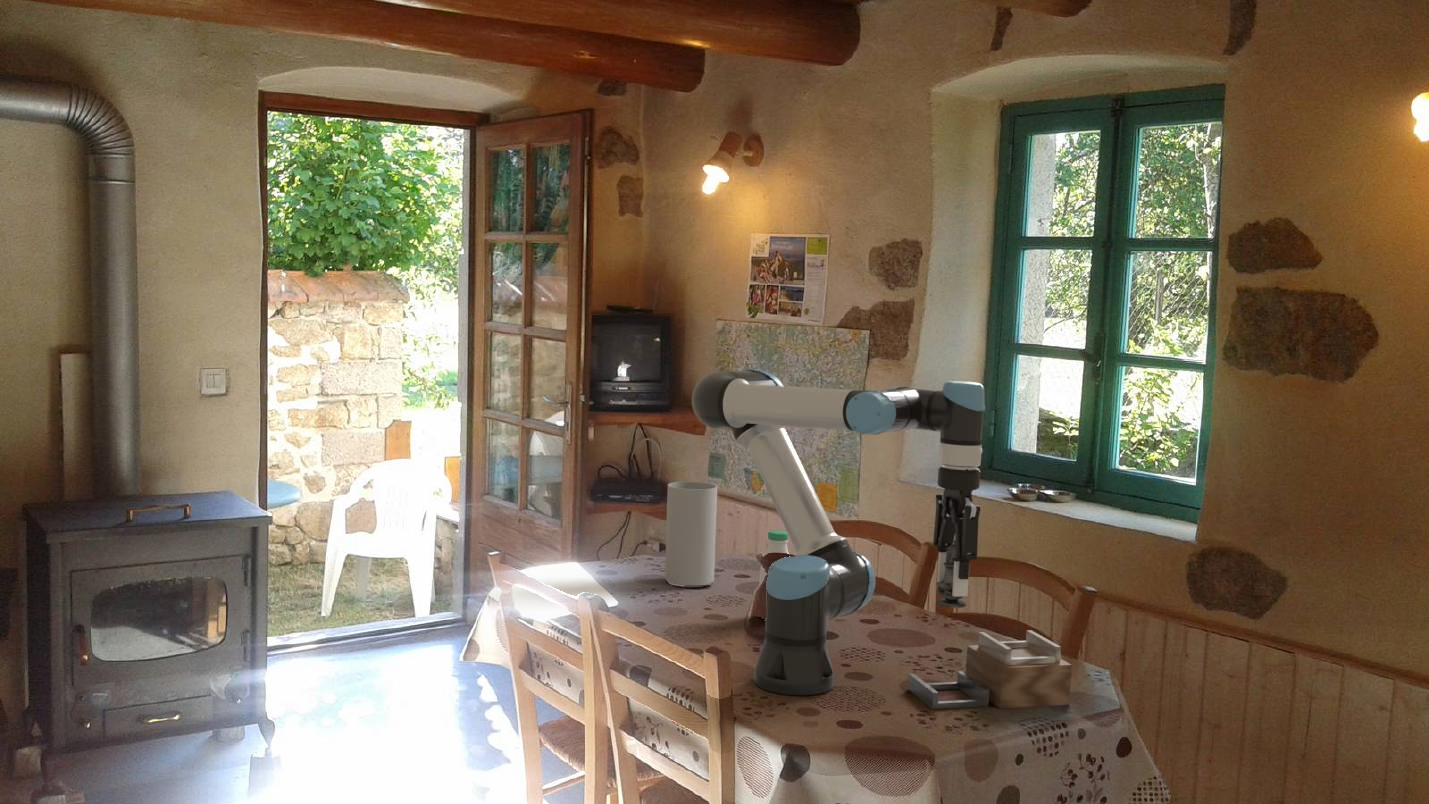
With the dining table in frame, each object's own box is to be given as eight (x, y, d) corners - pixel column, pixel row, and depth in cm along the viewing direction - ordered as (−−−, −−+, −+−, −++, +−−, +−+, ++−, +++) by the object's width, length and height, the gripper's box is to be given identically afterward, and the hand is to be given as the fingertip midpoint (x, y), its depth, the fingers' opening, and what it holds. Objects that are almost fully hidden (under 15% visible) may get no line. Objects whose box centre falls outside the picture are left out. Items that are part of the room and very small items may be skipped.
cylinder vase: (723, 582, 305) (726, 485, 303) (696, 591, 294) (700, 491, 292) (682, 574, 311) (685, 480, 309) (654, 583, 301) (658, 485, 299)
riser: (999, 708, 216) (1003, 651, 215) (965, 683, 229) (968, 630, 228) (1069, 704, 219) (1072, 648, 218) (1031, 680, 233) (1034, 627, 232)
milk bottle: (763, 623, 267) (767, 535, 265) (753, 614, 275) (757, 528, 273) (796, 622, 269) (800, 534, 268) (785, 613, 277) (788, 528, 275)
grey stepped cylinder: (967, 609, 216) (971, 544, 215) (934, 606, 217) (938, 541, 216) (967, 601, 222) (971, 538, 221) (935, 598, 223) (939, 535, 222)
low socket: (932, 709, 214) (933, 692, 214) (907, 689, 225) (908, 673, 224) (988, 706, 217) (989, 690, 217) (961, 686, 227) (962, 671, 227)
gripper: (1002, 474, 209) (994, 604, 211) (955, 459, 227) (948, 578, 229) (963, 474, 207) (955, 605, 209) (919, 458, 225) (912, 579, 227)
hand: (952, 591), depth 219 cm, fingers closed on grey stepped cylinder, 6 cm apart
